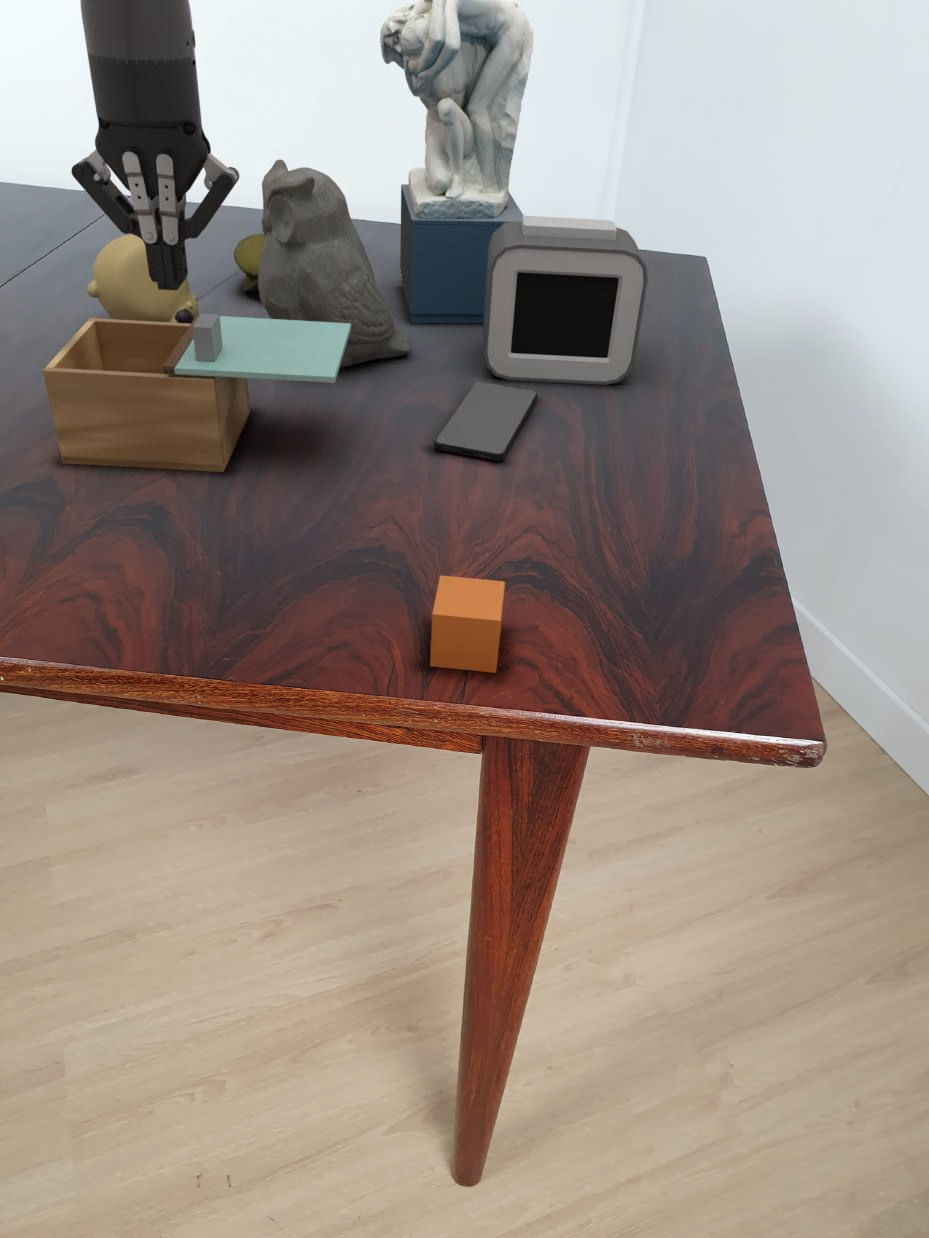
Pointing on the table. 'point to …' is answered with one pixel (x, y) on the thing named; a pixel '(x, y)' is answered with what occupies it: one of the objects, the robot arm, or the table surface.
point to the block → (467, 624)
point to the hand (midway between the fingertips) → (170, 287)
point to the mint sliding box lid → (260, 349)
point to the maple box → (140, 401)
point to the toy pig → (136, 286)
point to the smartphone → (486, 421)
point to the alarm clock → (563, 301)
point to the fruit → (250, 259)
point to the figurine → (321, 264)
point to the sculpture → (458, 145)
